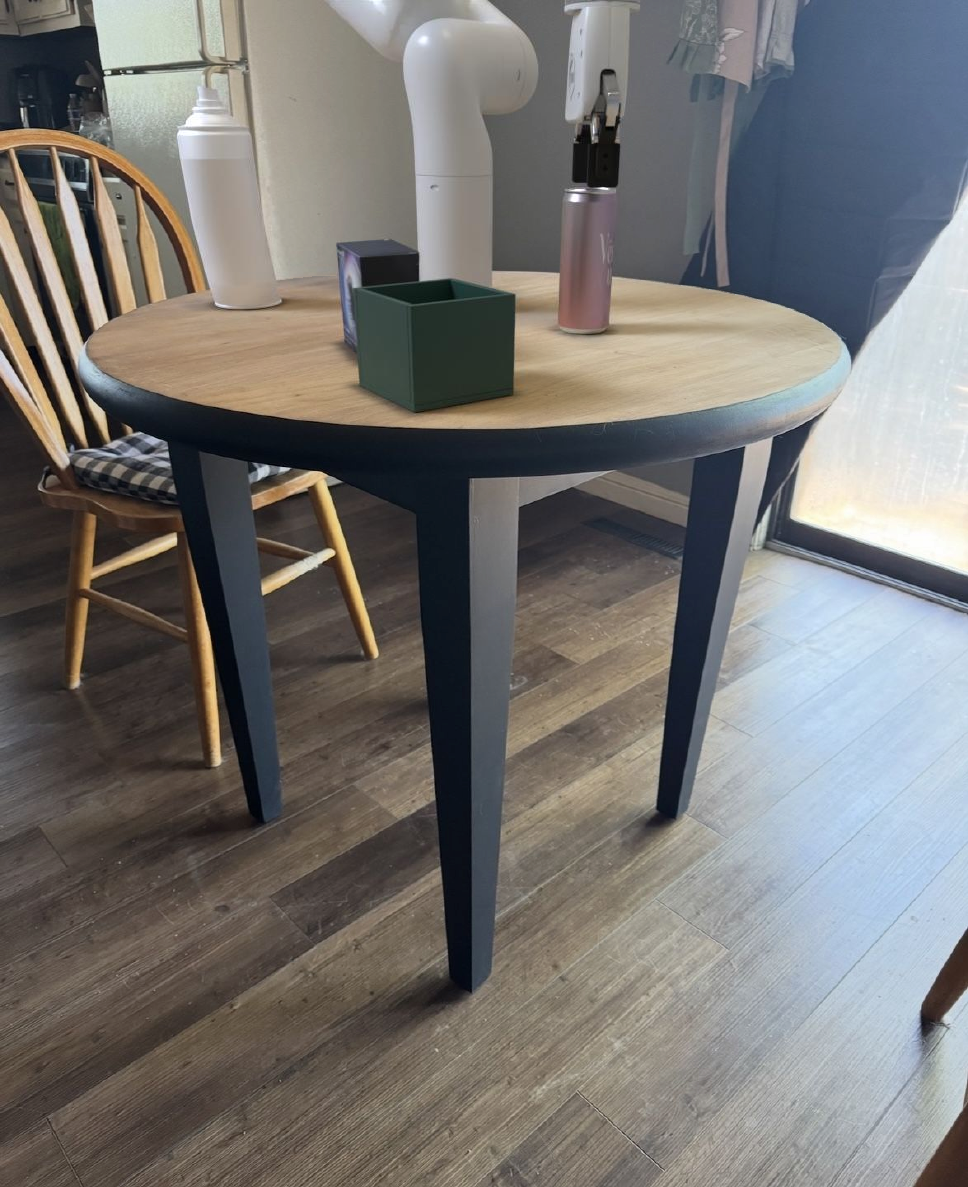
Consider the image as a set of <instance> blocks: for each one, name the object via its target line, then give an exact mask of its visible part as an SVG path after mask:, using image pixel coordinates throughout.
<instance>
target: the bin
mask: <svg viewBox="0 0 968 1187" xmlns="http://www.w3.org/2000/svg"><path fill="white" fill-rule="evenodd" d="M353 294H354V310H355V325H356V341H357V354H356V356H357V369H358V370H357V372H358V383H359V384H358V385H359V386H360V387H362V388H364V389H366V390H368V391H370V392H372V393H374V394H376V395H378V396H380V397H382V398H384V399H386V400H388V401H390V402H392V403H393V404H396V405H398V406H400V407H402V408H405V409H406V410H409V411H410V412H412V413H420V412H424V411H425V412H426V411H430V410H431V411H432V410H436V409H442V408H446V407H452V406H458V405H462V404H469V403H474V402H480V401H485V400H491V399H496V398H501V397H507V396H512V395H514V394H515V393H514V391H515V390H514V389H515V382H514V381H515V346H516V345H515V344H516V342H515V341H516V340H515V339H516V293H513V292H509V291H506V290H505V291H504V290H501V289H497V288H493V287H492V288H489V287H485V286H481V285H477V284H473V283H469V282H465V281H461V280H457V279H454V278H447V279H437V280H427V281H417V282H407V283H397V284H387V285H377V286H367V287H357V288H353Z"/></svg>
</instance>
